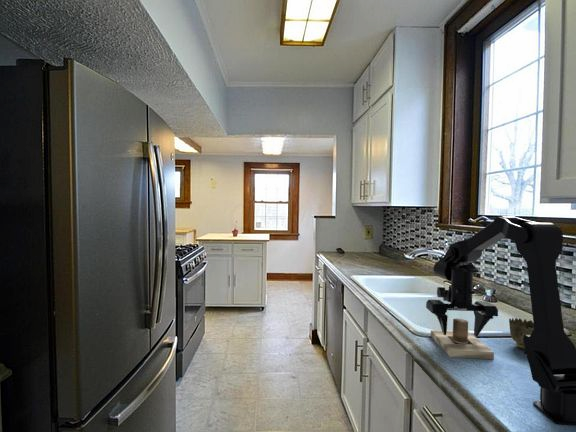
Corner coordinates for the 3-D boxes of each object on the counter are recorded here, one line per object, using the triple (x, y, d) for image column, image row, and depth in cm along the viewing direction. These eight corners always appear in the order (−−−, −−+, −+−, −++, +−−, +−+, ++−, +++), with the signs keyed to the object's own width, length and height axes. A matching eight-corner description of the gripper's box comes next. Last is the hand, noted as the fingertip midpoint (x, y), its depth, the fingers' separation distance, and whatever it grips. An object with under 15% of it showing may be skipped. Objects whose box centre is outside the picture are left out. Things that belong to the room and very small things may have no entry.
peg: (470, 350, 92) (471, 323, 92) (455, 349, 92) (456, 323, 92) (463, 344, 96) (464, 318, 96) (449, 343, 97) (450, 318, 96)
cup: (544, 355, 90) (545, 328, 89) (515, 352, 91) (516, 325, 91) (529, 343, 97) (530, 318, 97) (503, 341, 98) (504, 316, 98)
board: (493, 359, 87) (494, 352, 87) (449, 357, 88) (449, 350, 88) (468, 337, 101) (468, 331, 101) (430, 336, 102) (430, 330, 102)
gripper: (479, 279, 101) (477, 326, 102) (420, 277, 102) (419, 324, 103) (500, 288, 90) (498, 341, 91) (434, 286, 91) (432, 338, 92)
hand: (460, 335), depth 94 cm, fingers open, 9 cm apart
